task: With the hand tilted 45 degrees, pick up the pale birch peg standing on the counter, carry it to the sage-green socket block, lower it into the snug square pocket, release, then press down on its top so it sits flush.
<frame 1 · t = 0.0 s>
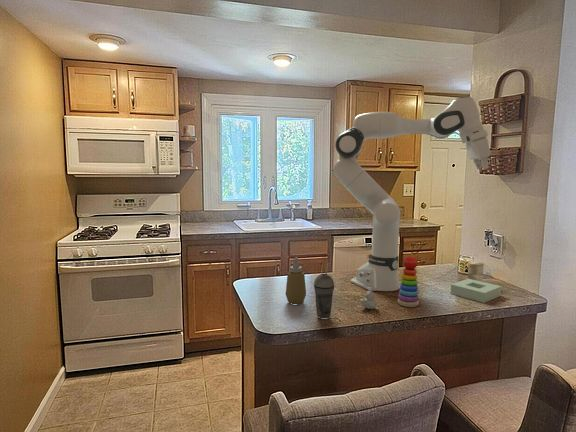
hand: (482, 168, 159), 52 cm above the countertop, tool tilted 20°, fingers open, 8 cm apart
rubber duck: (368, 309, 147), on the countertop
beverage cup: (323, 317, 139), on the countertop
stacking toy: (408, 304, 152), on the countertop
squeeze bottle: (295, 303, 153), on the countertop
peg: (474, 285, 177), on the countertop
socket block: (475, 294, 163), on the countertop
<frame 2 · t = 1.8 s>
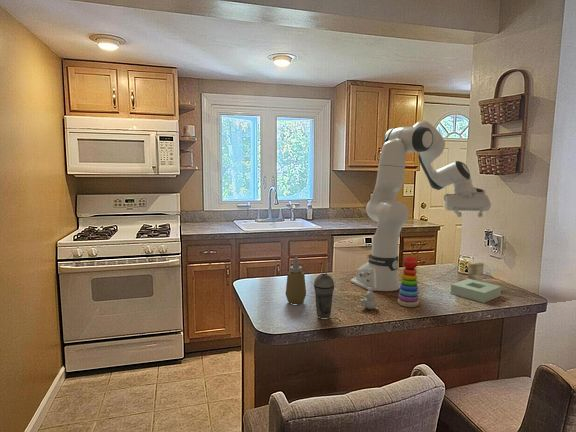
hand: (470, 216, 185), 29 cm above the countertop, tool tilted 45°, fingers open, 8 cm apart
nothing on the countertop moved.
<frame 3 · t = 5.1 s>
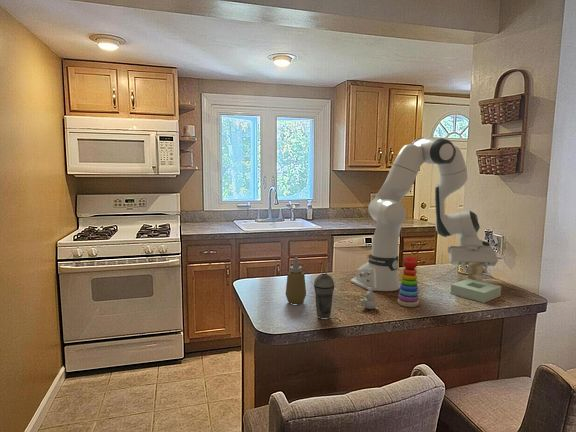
hand: (476, 272, 175), 6 cm above the countertop, tool tilted 45°, fingers closed on peg, 6 cm apart
peg: (474, 284, 177), on the countertop, touching gripper
everything else where it was.
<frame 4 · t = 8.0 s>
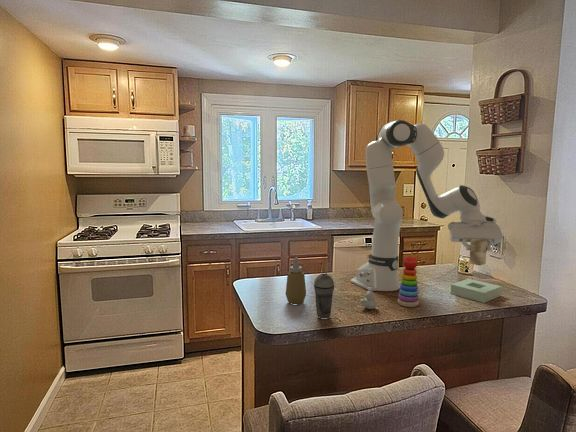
hand: (478, 249, 160), 19 cm above the countertop, tool tilted 45°, fingers closed on peg, 6 cm apart
peg: (477, 263, 161), point 13 cm above the countertop, touching gripper
everything else where it was.
when the fingers open (7 cm above the countertop, at t = 10.7 s): peg drops 1 cm, resting in socket block.
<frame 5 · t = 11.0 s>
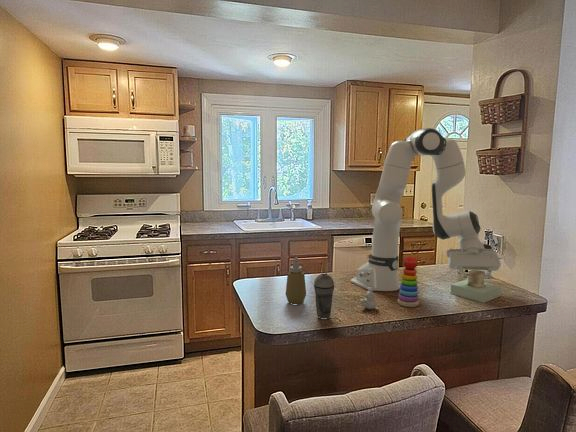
hand: (476, 277, 162), 7 cm above the countertop, tool tilted 45°, fingers open, 8 cm apart
peg: (475, 294, 163), resting in socket block
everything else where it was.
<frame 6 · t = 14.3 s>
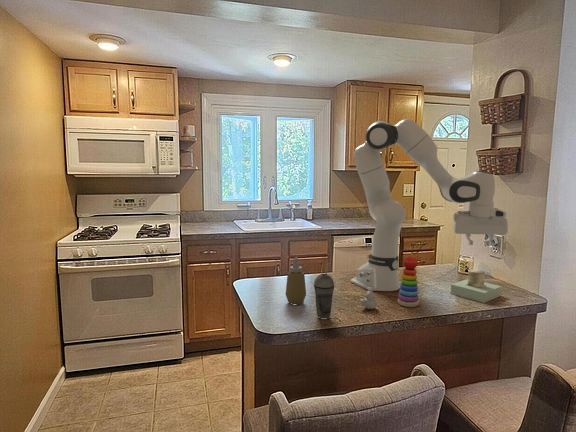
hand: (478, 244, 160), 21 cm above the countertop, tool pointing down, fingers open, 5 cm apart
nothing on the countertop moved.
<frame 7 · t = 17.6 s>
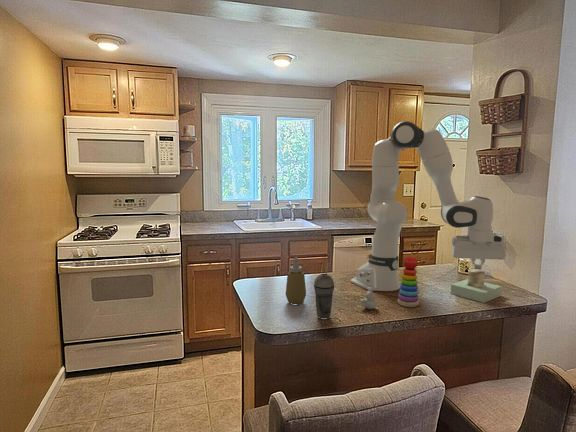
hand: (477, 269, 162), 11 cm above the countertop, tool pointing down, fingers closed
nothing on the countertop moved.
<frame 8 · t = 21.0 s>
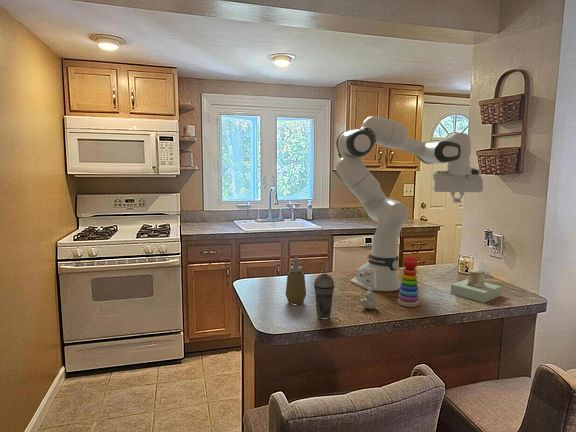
hand: (456, 202, 173), 37 cm above the countertop, tool pointing down, fingers closed
nothing on the countertop moved.
at the end: peg 0.1 cm off-centre on the socket block, point 0.0 cm above the socket block's base; peg tilted 0°; the gripper is holding nothing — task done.
